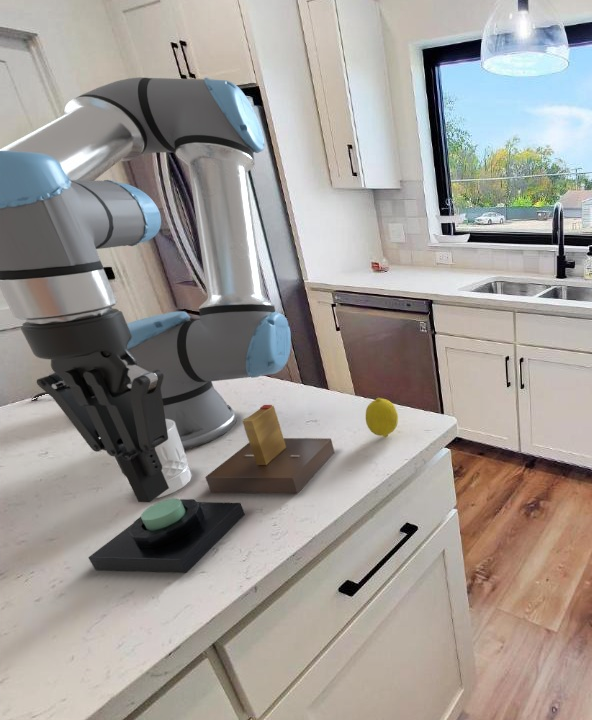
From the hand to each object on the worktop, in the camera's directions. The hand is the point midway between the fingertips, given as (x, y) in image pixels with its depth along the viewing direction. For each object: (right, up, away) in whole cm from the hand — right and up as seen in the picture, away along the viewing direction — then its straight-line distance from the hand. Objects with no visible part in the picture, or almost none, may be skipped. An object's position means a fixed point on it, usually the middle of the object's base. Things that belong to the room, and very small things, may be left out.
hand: (154, 494), depth 53 cm
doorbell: (0, -7, +3) cm, 8 cm away
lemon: (+20, +3, +26) cm, 33 cm away
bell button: (0, -4, +2) cm, 4 cm away
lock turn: (+5, +1, +15) cm, 16 cm away
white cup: (-11, -3, +14) cm, 18 cm away
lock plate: (+5, -1, +17) cm, 17 cm away
